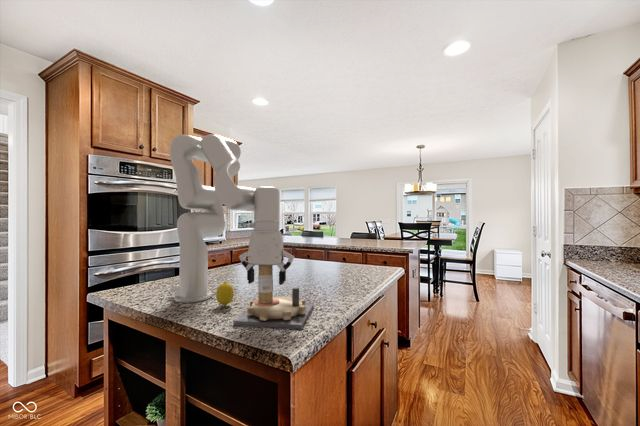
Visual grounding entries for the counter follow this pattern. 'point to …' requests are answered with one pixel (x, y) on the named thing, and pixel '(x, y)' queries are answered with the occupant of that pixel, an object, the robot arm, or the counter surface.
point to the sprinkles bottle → (265, 284)
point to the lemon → (224, 294)
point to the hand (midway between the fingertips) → (266, 283)
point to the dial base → (275, 320)
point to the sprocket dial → (278, 307)
